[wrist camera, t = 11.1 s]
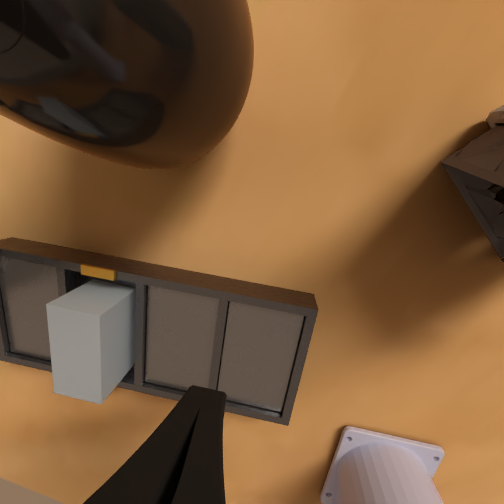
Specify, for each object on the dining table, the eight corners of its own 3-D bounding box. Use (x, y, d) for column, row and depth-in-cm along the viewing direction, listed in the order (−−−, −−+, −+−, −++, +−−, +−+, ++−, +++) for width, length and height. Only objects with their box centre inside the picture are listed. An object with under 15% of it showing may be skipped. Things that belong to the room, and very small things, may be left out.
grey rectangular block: (134, 363, 21) (101, 404, 17) (95, 354, 21) (54, 392, 17) (136, 288, 19) (99, 315, 15) (93, 279, 19) (46, 304, 15)
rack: (287, 400, 21) (288, 428, 19) (27, 343, 23) (-3, 362, 20) (314, 293, 18) (318, 310, 16) (12, 236, 20) (-25, 244, 17)
